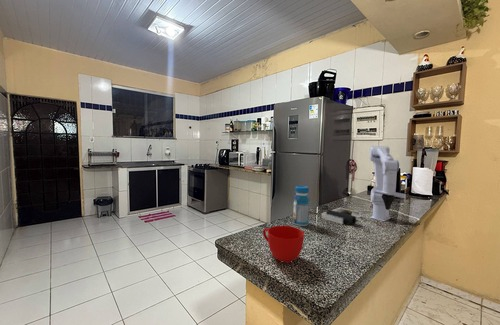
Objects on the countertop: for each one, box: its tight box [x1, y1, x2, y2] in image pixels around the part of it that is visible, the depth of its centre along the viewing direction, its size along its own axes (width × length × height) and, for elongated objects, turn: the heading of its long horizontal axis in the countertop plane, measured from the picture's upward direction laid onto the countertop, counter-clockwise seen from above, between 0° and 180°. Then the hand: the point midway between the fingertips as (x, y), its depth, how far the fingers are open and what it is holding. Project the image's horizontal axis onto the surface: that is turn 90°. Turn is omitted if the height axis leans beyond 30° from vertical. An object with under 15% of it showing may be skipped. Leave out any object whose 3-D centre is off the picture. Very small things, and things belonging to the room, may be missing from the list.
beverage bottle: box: [292, 185, 311, 227], centre depth 118 cm, size 8×8×20 cm
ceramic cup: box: [262, 225, 305, 263], centre depth 83 cm, size 13×17×10 cm
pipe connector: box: [325, 209, 357, 226], centre depth 127 cm, size 12×5×15 cm
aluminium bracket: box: [321, 207, 362, 225], centre depth 131 cm, size 21×13×3 cm, turn 129°
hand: (387, 209), depth 116 cm, fingers closed
